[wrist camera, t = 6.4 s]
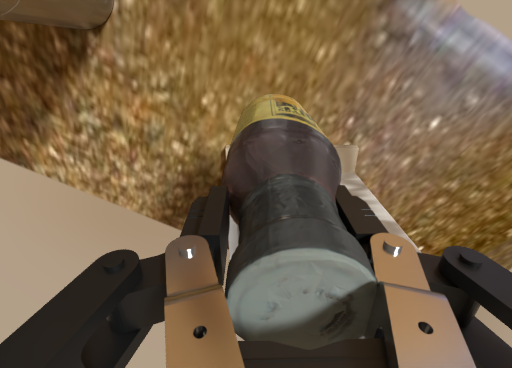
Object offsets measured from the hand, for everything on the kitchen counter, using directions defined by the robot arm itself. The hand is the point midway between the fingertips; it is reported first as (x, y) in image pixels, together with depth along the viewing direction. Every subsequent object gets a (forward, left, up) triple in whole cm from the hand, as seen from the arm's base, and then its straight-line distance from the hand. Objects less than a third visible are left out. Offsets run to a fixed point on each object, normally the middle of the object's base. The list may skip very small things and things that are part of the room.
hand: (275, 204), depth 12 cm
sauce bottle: (+1, 0, -14) cm, 14 cm away
